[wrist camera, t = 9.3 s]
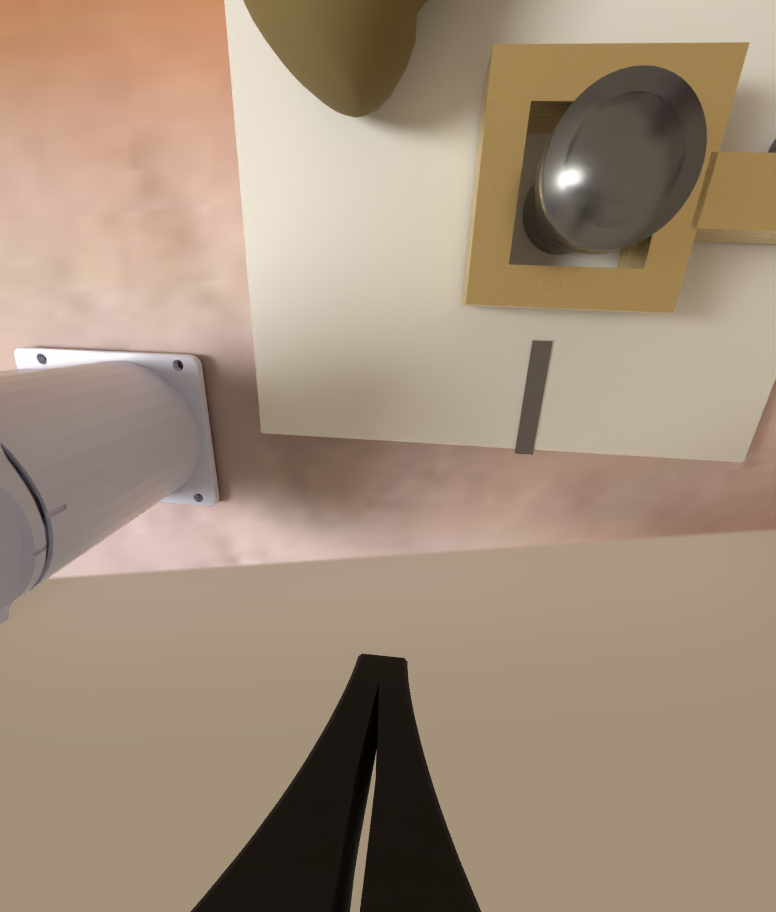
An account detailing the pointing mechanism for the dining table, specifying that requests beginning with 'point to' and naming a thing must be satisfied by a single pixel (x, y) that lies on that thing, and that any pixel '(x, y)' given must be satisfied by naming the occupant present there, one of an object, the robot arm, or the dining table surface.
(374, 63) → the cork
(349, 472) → the dining table surface
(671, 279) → the collar
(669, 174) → the dark metal domed fitting
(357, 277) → the board
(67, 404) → the robot arm
